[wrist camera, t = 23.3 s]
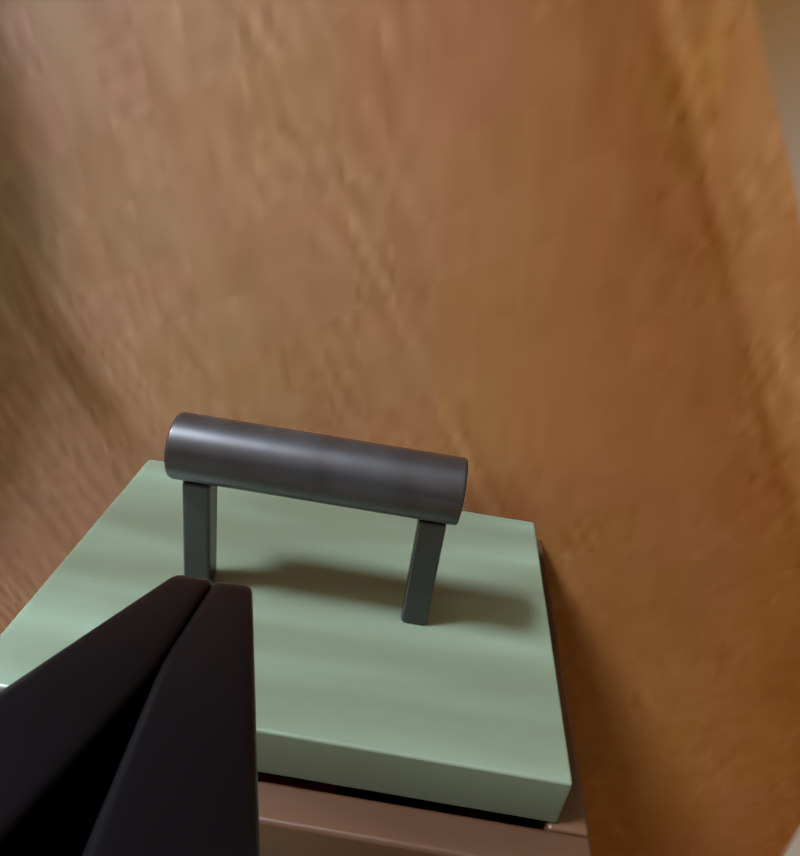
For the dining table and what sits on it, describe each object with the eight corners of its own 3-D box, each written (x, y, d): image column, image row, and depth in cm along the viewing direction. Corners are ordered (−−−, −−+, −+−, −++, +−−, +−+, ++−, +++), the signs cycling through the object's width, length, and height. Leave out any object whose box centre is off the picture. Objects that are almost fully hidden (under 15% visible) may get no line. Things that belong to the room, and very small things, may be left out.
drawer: (142, 322, 18) (-84, 488, 11) (570, 390, 18) (643, 609, 10) (161, 759, 26) (40, 1025, 19) (454, 810, 26) (449, 1099, 19)
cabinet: (143, 474, 21) (-94, 760, 12) (542, 539, 21) (597, 880, 12) (157, 773, 28) (10, 1100, 19) (460, 826, 28) (456, 1181, 19)
